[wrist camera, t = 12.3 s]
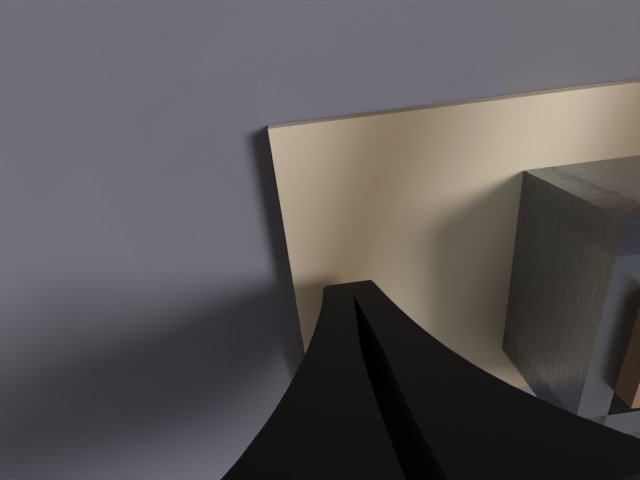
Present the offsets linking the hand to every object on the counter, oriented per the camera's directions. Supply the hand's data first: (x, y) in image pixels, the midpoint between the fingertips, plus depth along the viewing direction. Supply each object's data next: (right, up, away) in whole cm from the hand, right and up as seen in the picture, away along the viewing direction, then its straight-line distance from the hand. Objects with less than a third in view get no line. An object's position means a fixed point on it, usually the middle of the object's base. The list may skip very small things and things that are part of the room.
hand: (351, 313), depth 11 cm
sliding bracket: (+7, +1, +1) cm, 7 cm away
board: (+7, +2, +2) cm, 8 cm away
